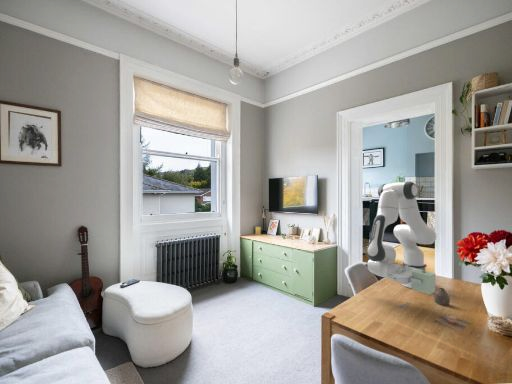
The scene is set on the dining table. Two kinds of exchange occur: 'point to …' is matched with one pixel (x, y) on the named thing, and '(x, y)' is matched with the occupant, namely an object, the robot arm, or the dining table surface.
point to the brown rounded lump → (441, 297)
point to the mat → (403, 305)
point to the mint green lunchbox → (424, 281)
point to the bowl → (452, 319)
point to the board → (444, 320)
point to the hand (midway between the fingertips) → (425, 280)
